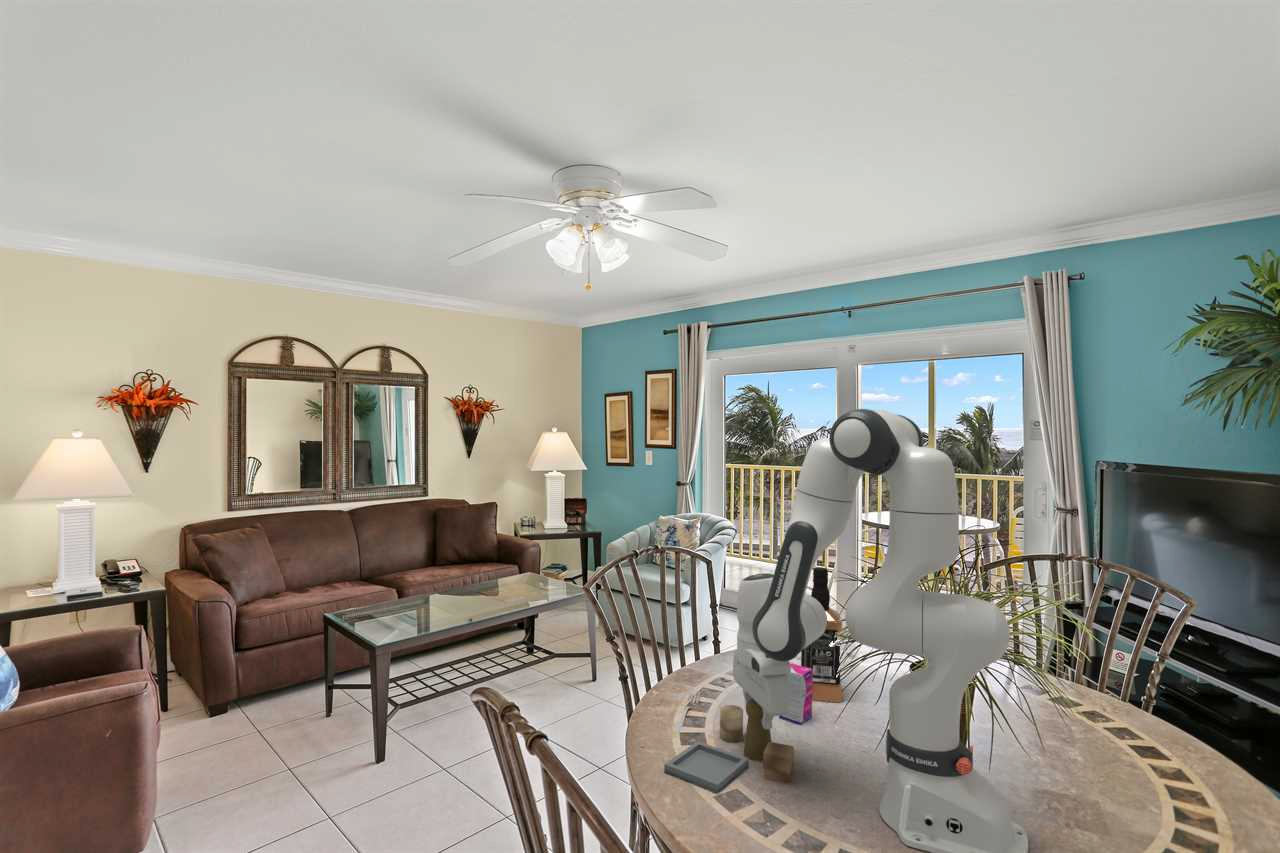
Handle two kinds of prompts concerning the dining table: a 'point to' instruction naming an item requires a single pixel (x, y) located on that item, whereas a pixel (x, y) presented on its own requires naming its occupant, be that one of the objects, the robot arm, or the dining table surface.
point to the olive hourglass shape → (755, 732)
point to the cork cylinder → (731, 723)
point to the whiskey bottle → (824, 647)
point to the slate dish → (706, 766)
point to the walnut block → (778, 762)
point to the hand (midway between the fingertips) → (758, 719)
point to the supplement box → (799, 694)
